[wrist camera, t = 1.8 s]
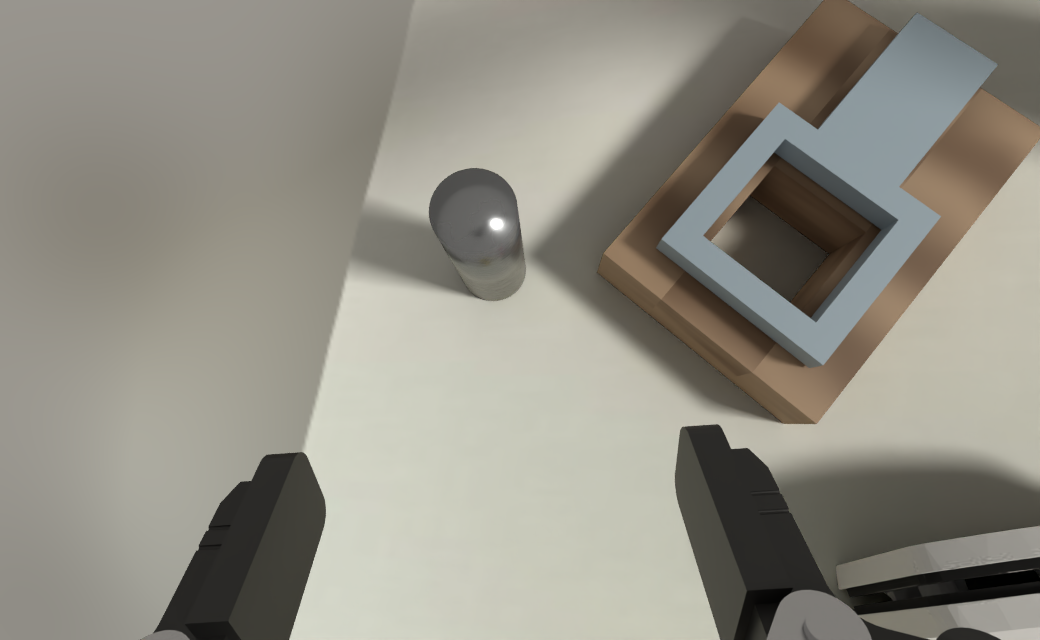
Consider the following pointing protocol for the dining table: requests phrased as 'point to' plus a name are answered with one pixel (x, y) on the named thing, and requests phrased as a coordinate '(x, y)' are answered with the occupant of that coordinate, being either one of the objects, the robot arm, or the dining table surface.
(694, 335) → the wooden block
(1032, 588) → the white game console
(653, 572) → the dining table surface
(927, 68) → the link
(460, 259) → the pin
